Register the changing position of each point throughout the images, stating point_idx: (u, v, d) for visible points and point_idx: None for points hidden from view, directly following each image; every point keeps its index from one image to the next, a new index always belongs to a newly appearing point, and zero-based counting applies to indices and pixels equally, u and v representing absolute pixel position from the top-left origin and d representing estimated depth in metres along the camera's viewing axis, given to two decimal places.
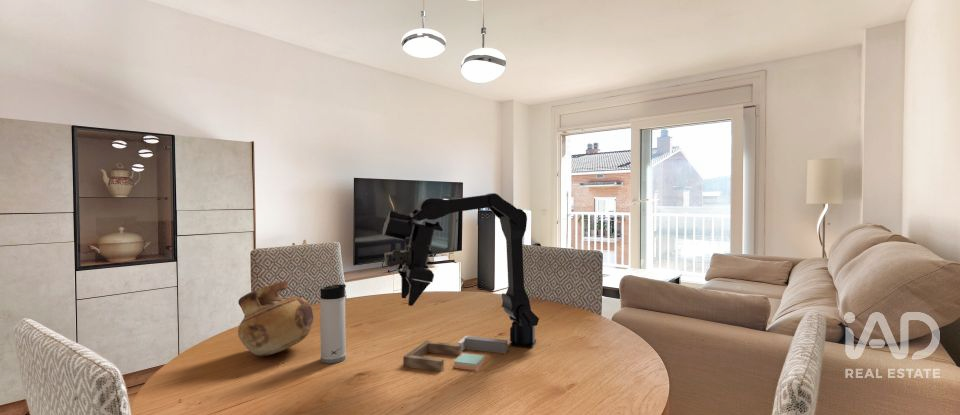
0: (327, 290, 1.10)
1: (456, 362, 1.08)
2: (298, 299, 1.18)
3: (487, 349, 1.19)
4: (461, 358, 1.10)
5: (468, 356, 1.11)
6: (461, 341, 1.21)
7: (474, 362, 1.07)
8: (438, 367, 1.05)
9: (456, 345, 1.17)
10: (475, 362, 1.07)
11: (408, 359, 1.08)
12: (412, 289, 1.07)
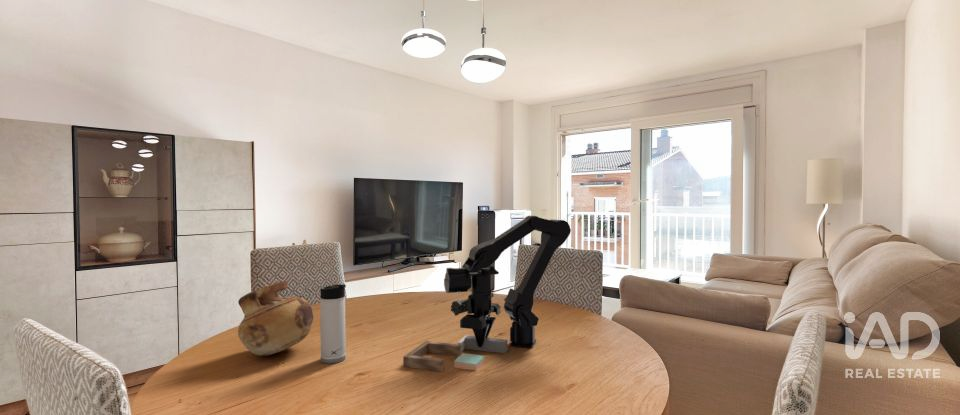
0: (327, 290, 1.10)
1: (456, 362, 1.08)
2: (298, 299, 1.18)
3: (487, 349, 1.19)
4: (461, 357, 1.10)
5: (468, 356, 1.11)
6: (461, 341, 1.21)
7: (474, 362, 1.07)
8: (438, 367, 1.05)
9: (456, 345, 1.17)
10: (475, 362, 1.07)
11: (408, 359, 1.08)
12: (475, 332, 1.19)
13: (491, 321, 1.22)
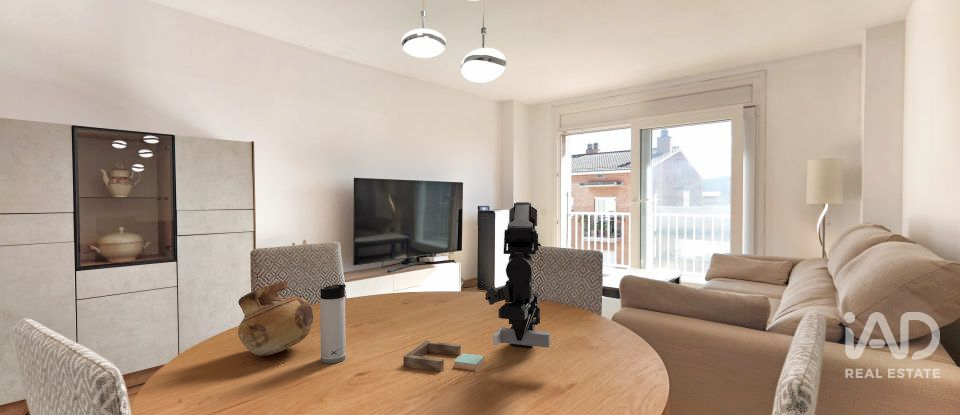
0: (327, 290, 1.10)
1: (456, 362, 1.08)
2: (298, 299, 1.18)
3: (527, 343, 1.04)
4: (461, 357, 1.10)
5: (468, 356, 1.11)
6: (497, 333, 1.05)
7: (474, 362, 1.07)
8: (438, 367, 1.05)
9: (456, 345, 1.17)
10: (475, 362, 1.07)
11: (408, 359, 1.08)
12: (514, 324, 1.03)
13: (531, 311, 1.06)
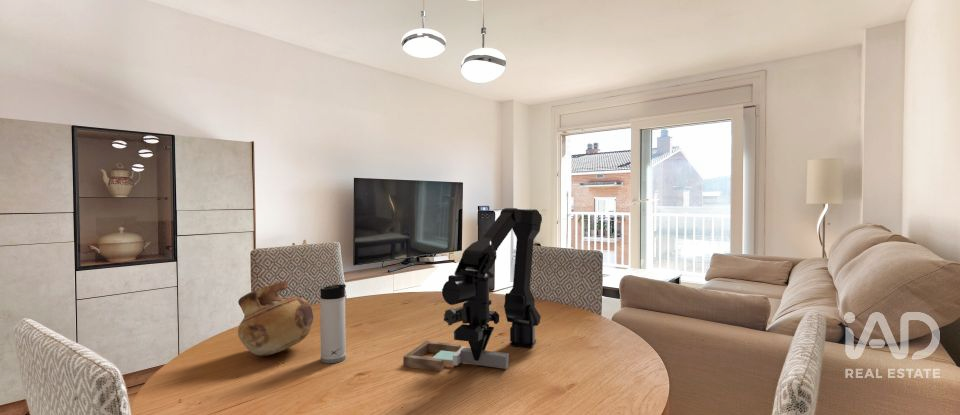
0: (327, 290, 1.10)
1: None
2: (298, 299, 1.18)
3: (486, 364, 1.07)
4: (439, 354, 1.12)
5: (446, 353, 1.13)
6: (457, 353, 1.08)
7: (451, 358, 1.09)
8: (438, 367, 1.05)
9: (456, 345, 1.17)
10: (452, 358, 1.09)
11: (408, 359, 1.08)
12: (471, 344, 1.06)
13: (489, 331, 1.10)
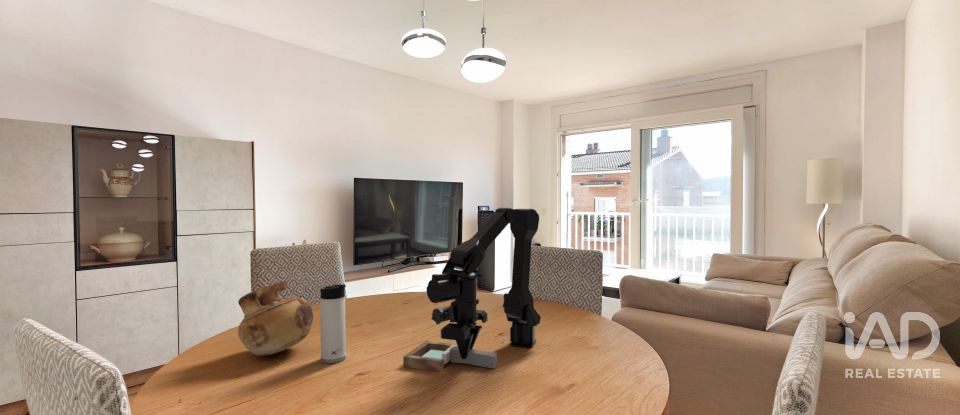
0: (327, 290, 1.10)
1: None
2: (298, 299, 1.18)
3: (474, 363, 1.08)
4: (428, 354, 1.13)
5: (435, 352, 1.14)
6: (446, 352, 1.09)
7: (440, 358, 1.10)
8: (438, 367, 1.05)
9: (456, 345, 1.17)
10: (441, 358, 1.10)
11: (408, 359, 1.08)
12: (458, 343, 1.08)
13: (476, 330, 1.11)
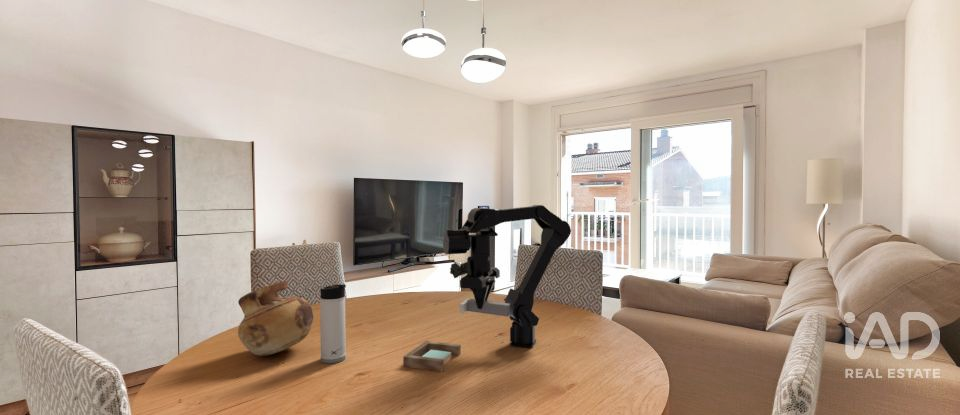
0: (327, 290, 1.10)
1: None
2: (298, 299, 1.18)
3: (489, 312, 1.19)
4: (428, 354, 1.13)
5: (435, 352, 1.14)
6: (463, 303, 1.20)
7: (440, 358, 1.10)
8: (438, 367, 1.05)
9: (456, 345, 1.17)
10: (441, 358, 1.10)
11: (408, 359, 1.08)
12: (475, 294, 1.18)
13: (491, 283, 1.22)
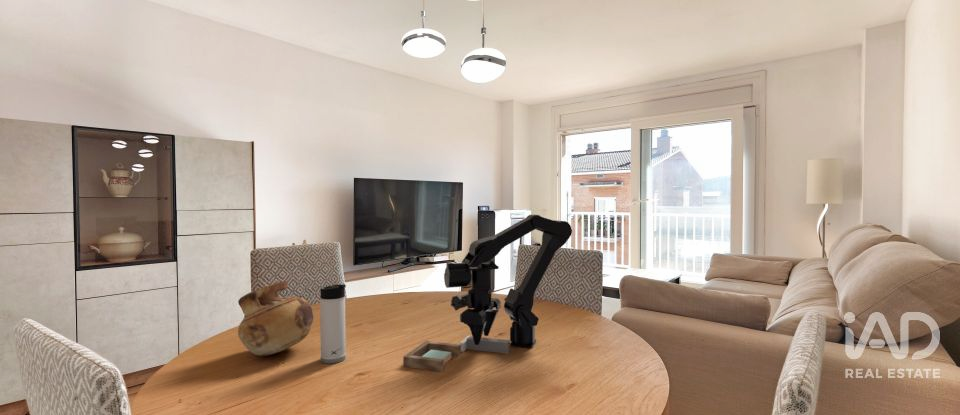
0: (327, 290, 1.10)
1: None
2: (298, 299, 1.18)
3: (489, 350, 1.19)
4: (428, 354, 1.13)
5: (435, 352, 1.14)
6: (463, 341, 1.21)
7: (440, 358, 1.10)
8: (438, 367, 1.05)
9: (456, 345, 1.17)
10: (441, 358, 1.10)
11: (408, 359, 1.08)
12: (472, 330, 1.16)
13: (494, 313, 1.25)
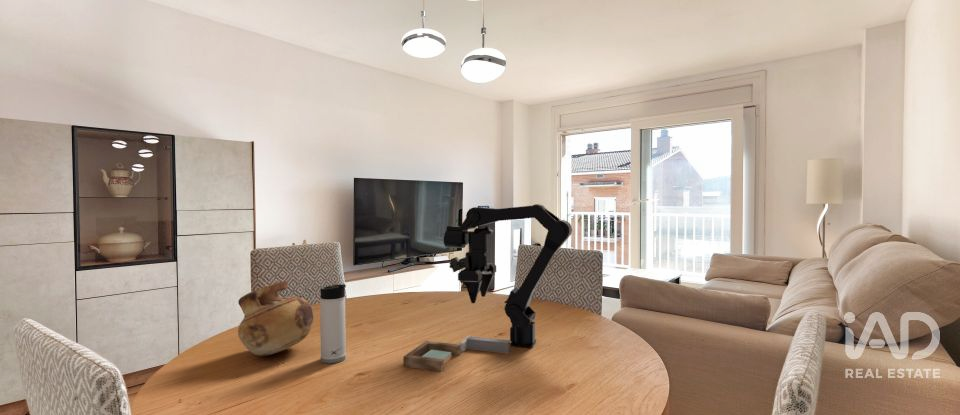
0: (327, 290, 1.10)
1: None
2: (298, 299, 1.18)
3: (489, 350, 1.19)
4: (428, 354, 1.13)
5: (435, 352, 1.14)
6: (463, 341, 1.21)
7: (440, 358, 1.10)
8: (438, 367, 1.05)
9: (456, 345, 1.17)
10: (441, 358, 1.10)
11: (408, 359, 1.08)
12: (468, 289, 1.24)
13: (490, 276, 1.34)
